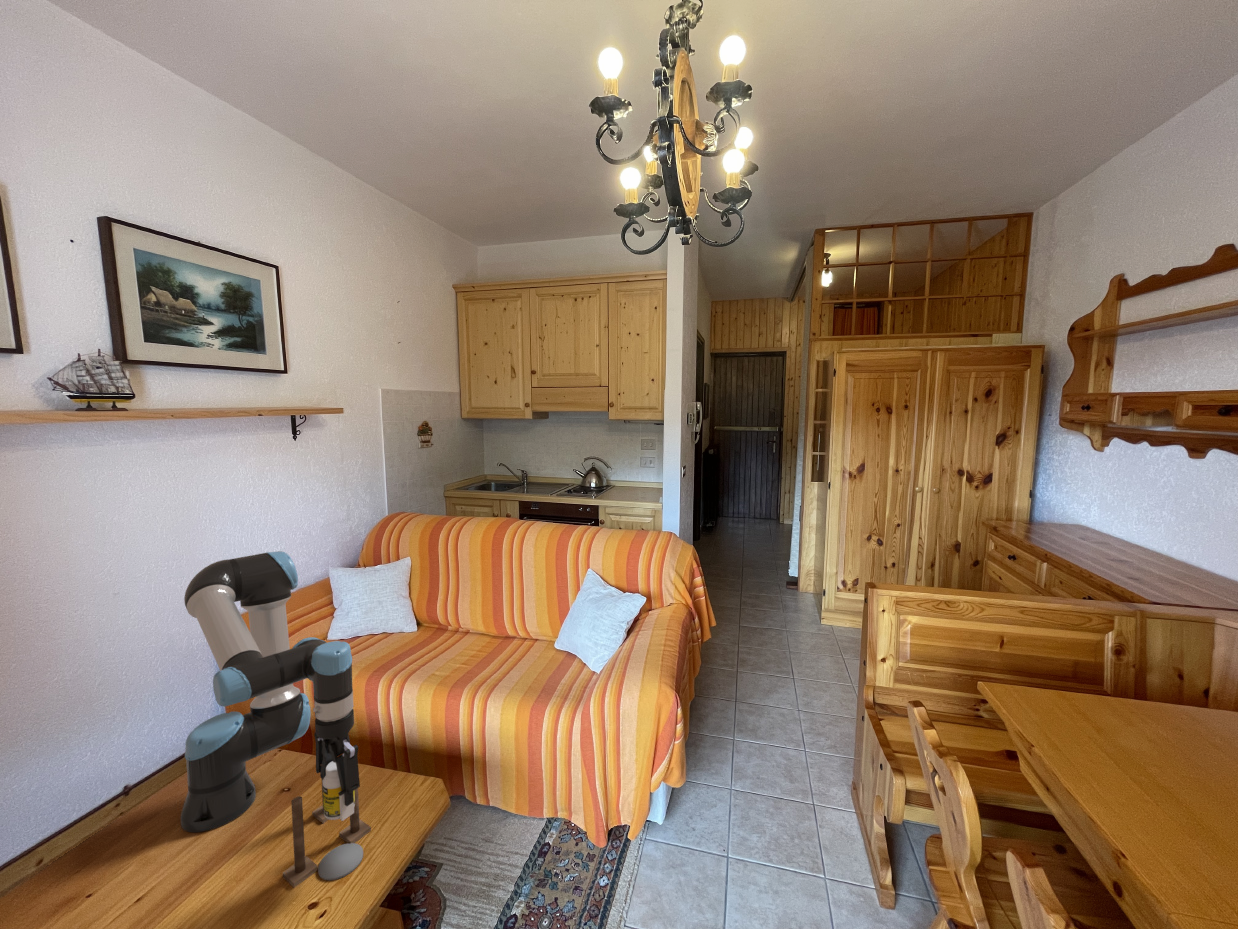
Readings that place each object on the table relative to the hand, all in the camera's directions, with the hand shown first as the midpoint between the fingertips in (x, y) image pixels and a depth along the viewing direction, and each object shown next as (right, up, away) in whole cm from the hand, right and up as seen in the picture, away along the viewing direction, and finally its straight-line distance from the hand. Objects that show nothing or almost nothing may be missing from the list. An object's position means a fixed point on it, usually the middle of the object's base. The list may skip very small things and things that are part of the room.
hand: (338, 809), depth 110 cm
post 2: (-12, -12, +15) cm, 23 cm away
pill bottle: (0, -1, 0) cm, 1 cm away
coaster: (0, -13, +1) cm, 13 cm away
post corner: (-1, -12, +9) cm, 15 cm away
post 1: (-7, -13, -2) cm, 15 cm away
